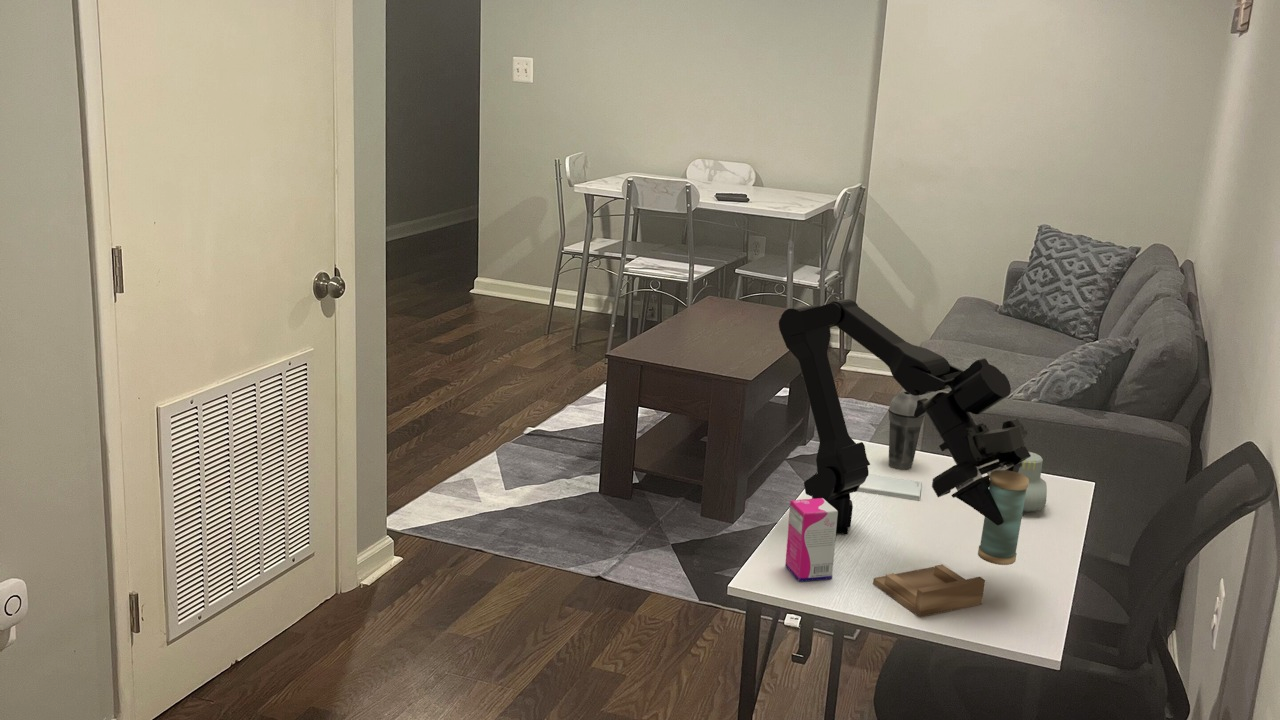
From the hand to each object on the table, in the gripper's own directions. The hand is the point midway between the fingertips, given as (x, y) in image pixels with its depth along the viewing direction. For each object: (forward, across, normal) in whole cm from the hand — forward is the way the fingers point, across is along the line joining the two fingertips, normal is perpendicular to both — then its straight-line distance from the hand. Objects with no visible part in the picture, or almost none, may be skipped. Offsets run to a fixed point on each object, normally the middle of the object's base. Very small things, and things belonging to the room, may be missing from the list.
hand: (1011, 519), depth 165 cm
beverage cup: (-21, +36, +41) cm, 58 cm away
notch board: (+4, -8, +15) cm, 17 cm away
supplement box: (-7, -17, +26) cm, 32 cm away
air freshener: (-3, +37, +23) cm, 44 cm away
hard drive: (-17, +24, +37) cm, 47 cm away
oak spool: (+4, 0, +6) cm, 7 cm away
